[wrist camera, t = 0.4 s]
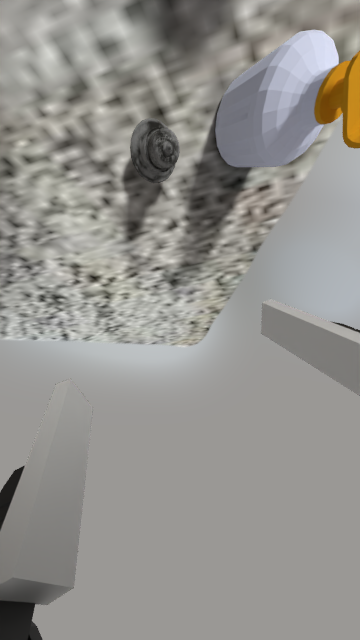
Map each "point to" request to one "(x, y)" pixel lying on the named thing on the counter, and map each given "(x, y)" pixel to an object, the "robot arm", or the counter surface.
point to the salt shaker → (154, 150)
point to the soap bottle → (288, 103)
